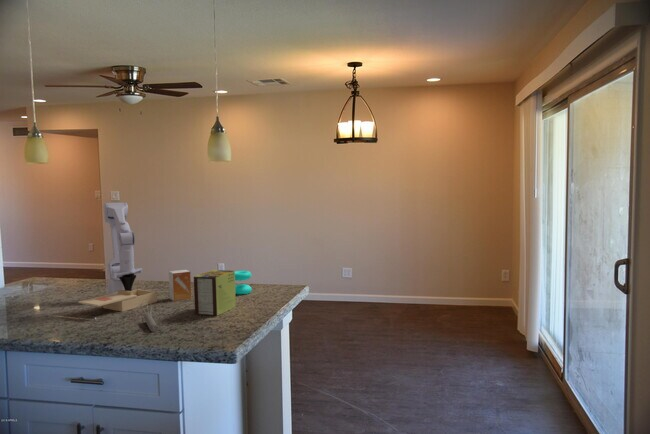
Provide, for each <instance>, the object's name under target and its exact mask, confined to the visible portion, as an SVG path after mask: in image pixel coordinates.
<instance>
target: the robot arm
mask: <svg viewBox="0 0 650 434" xmlns="http://www.w3.org/2000/svg"><path fill="white" fill-rule="evenodd" d="M128 214H129V206H128V203H127V202H126V201H125V202H104V204H103V217H104V221H105V223H107V224H109V227H110V235H111V242H112V251H113V253H112V255H113V258H112V259H110V261H108V263H107V275H108V279H110V280H108V282H107V295H108V294H112V293H116V292H118V290H126V291H133V290H132V288H133V286H134V285H133V284H134V282H135V280H136V278H137V274H143V271H144V269H143V267H138V268H135V255H134V254H135V251H134V245H135V243H136V240H135V239H136V238H135V234H134V231H133V230H131V227H130V224H129V222H128V221H127V218H128Z"/></svg>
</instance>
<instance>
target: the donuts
mask: <svg viewBox="0 0 650 434" xmlns="http://www.w3.org/2000/svg"><path fill="white" fill-rule="evenodd" d="M234 271H235V282H236V281H239V282H240V281H242V282H243V281H246V280H249V279H250V278H251V277H252V273H251V271H249V270H234ZM252 291H253V289H252V287H251V286H250V285H249V284H246V283H245V284H235V296H241V295H242V294H244V295H248V294H250V293H252Z"/></svg>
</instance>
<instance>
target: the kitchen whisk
mask: <svg viewBox="0 0 650 434" xmlns="http://www.w3.org/2000/svg"><path fill="white" fill-rule="evenodd" d="M144 300H145V299H144ZM144 300H143V301H144ZM143 301H142V302H143ZM139 302H140V301H139ZM146 302H147V301H146ZM147 303H149V302H147ZM143 304H144V303H143ZM140 305H141V306H140ZM140 305H139V306H140V307H139V308H141V307H142V310H143V312H145V314H144V313H143V312H141V309H138V307H136V308H135V309H138V312H139V313H141V314H142V316H141V315H140V314H138V313H137V312H136V311H134V313H135V314H137V315H138V316H140V317H142V318H143V319H144V321H145V323H146V325H147V327H148V328H149V331H150V332H152V333H157V331H158V325H157V323H156V322H155V320H154V318H153V316H152V308H151V307H149V306H148V305H149V304H147V305H144V306H145V307H146V308H147V309H148V310H150V312H146V310H145V308H144V306H142V304H141V303H140Z"/></svg>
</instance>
